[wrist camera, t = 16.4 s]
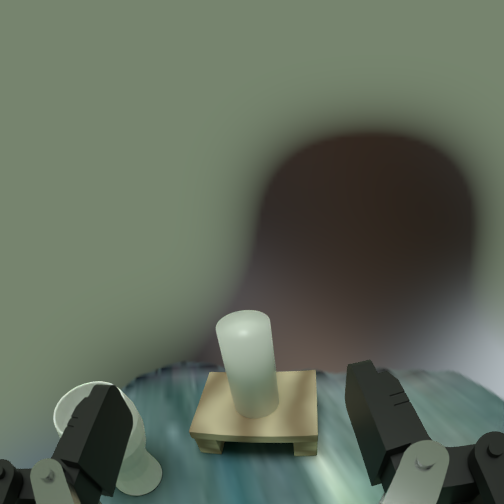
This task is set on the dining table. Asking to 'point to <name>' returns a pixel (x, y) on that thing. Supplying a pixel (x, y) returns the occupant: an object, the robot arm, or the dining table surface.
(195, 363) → the dining table surface
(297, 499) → the dining table surface
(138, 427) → the cup
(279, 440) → the shelf stand
